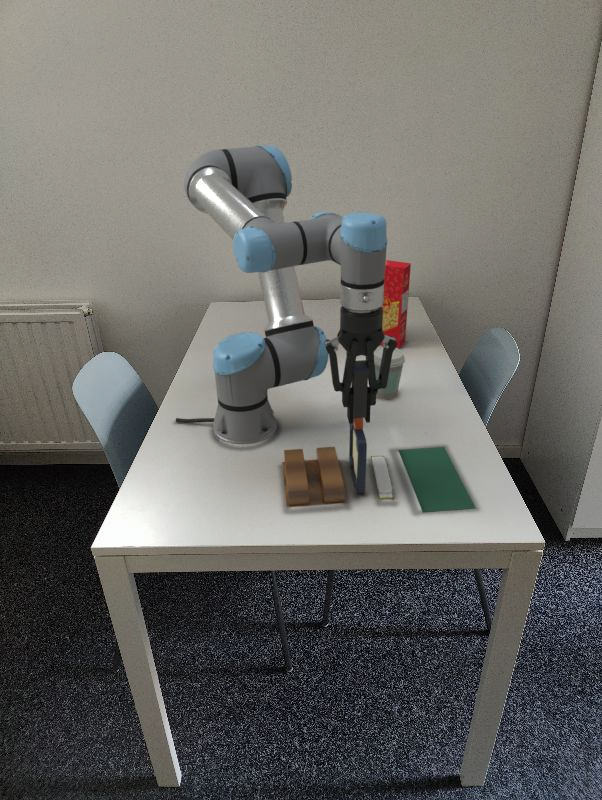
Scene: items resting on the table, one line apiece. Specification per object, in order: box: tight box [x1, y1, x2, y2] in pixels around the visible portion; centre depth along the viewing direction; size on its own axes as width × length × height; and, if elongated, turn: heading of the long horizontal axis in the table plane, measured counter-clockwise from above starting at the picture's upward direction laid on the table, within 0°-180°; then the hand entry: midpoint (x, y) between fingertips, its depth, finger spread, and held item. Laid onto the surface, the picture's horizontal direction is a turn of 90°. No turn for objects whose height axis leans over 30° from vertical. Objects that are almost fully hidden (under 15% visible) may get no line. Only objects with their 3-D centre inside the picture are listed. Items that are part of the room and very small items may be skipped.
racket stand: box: [281, 446, 348, 508], centre depth 121 cm, size 15×12×5 cm
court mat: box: [397, 446, 476, 513], centre depth 124 cm, size 12×21×1 cm, turn 5°
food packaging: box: [379, 259, 412, 349], centre depth 177 cm, size 15×5×25 cm, turn 60°
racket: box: [348, 359, 370, 495], centre depth 115 cm, size 11×3×27 cm, turn 5°
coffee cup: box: [374, 346, 406, 400], centre depth 152 cm, size 9×8×12 cm
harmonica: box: [370, 455, 394, 501], centre depth 123 cm, size 15×3×2 cm, turn 1°
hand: (358, 419), depth 115 cm, fingers closed on racket, 3 cm apart
